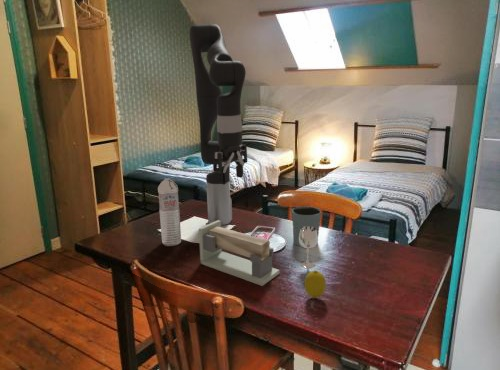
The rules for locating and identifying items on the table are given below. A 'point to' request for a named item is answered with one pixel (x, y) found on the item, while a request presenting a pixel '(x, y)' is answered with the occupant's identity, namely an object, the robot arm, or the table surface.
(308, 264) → the wineglass
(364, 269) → the table surface
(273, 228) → the phone case
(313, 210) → the grey plant pot
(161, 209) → the water bottle
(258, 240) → the rail
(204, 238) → the bracket stand
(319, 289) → the lemon
